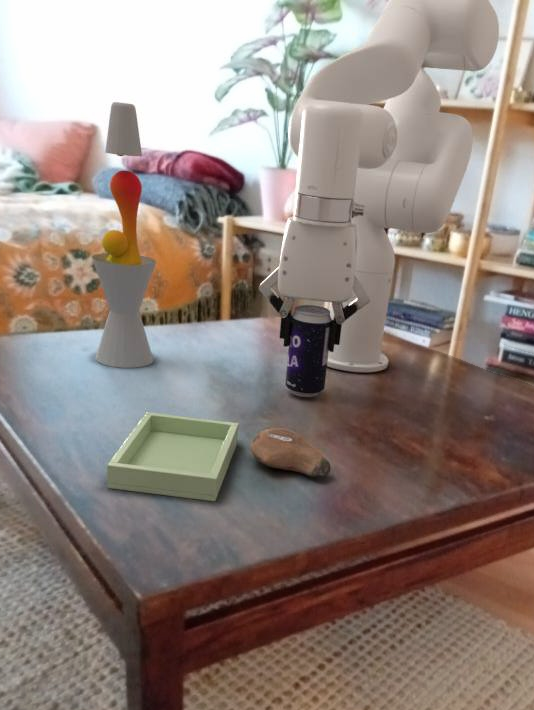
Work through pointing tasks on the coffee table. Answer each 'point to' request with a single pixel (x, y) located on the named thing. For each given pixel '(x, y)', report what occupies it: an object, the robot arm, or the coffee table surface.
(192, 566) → the coffee table surface
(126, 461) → the tray
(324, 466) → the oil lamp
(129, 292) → the lava lamp
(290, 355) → the beverage can
